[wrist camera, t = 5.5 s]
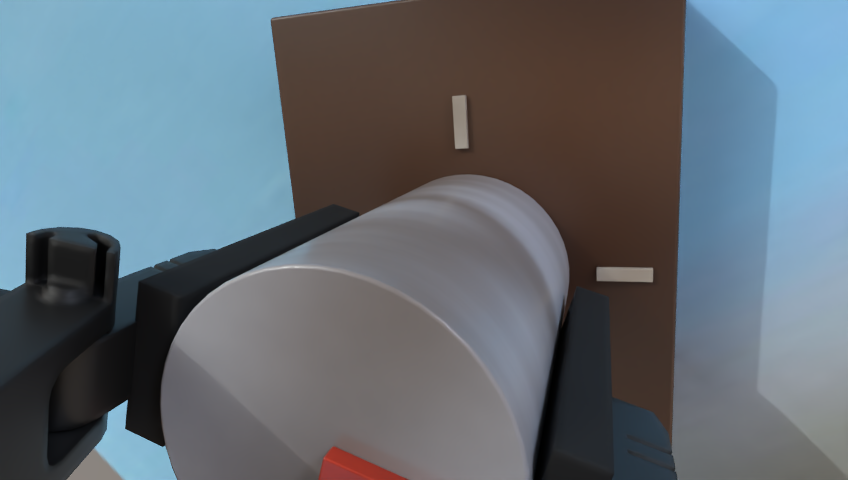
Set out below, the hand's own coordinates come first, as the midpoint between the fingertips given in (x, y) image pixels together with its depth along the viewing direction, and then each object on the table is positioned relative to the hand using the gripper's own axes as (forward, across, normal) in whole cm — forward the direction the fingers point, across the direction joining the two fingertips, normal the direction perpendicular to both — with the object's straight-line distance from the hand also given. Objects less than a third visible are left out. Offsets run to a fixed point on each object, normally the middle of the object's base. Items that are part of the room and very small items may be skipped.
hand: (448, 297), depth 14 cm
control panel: (+5, 0, +1) cm, 5 cm away
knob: (+2, 0, 0) cm, 2 cm away
